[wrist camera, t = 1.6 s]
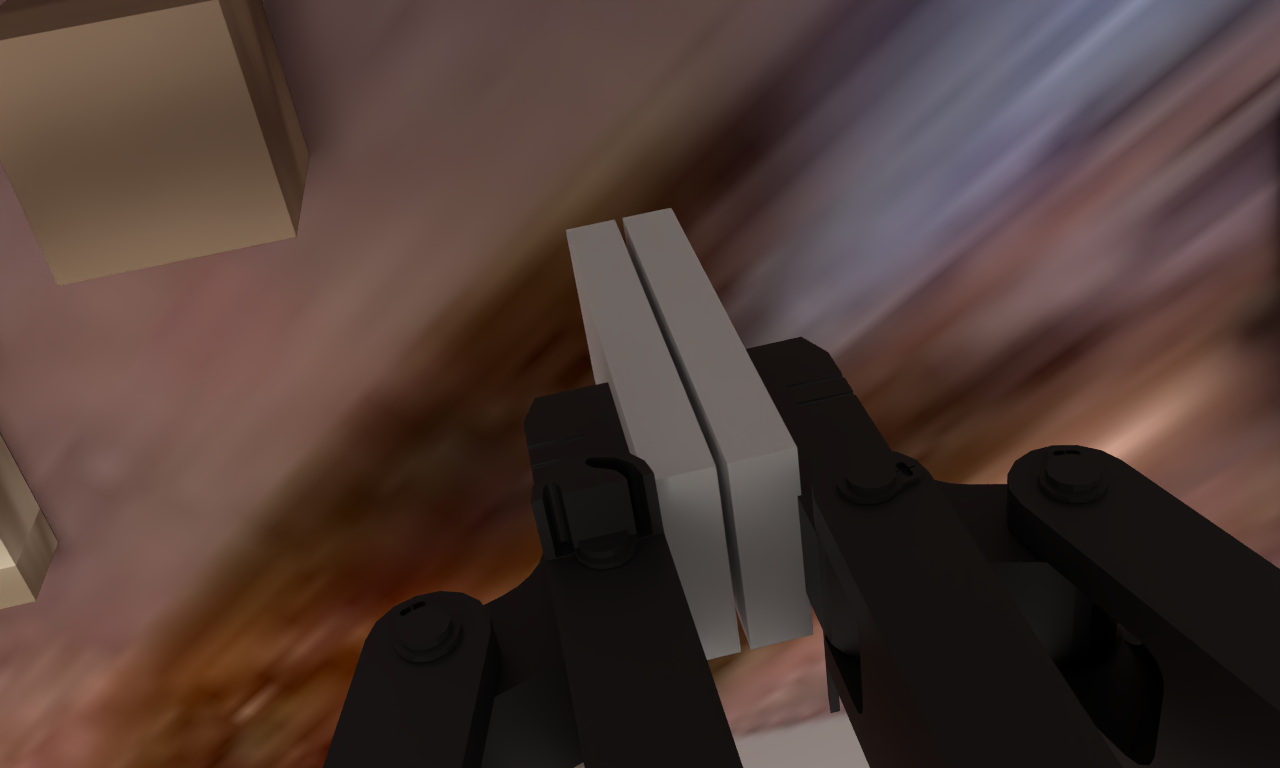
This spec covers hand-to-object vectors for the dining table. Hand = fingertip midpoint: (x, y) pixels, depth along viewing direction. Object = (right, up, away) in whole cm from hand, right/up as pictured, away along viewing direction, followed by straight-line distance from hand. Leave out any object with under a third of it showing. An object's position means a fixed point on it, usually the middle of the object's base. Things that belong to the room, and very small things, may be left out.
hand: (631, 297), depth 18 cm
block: (-13, +7, +15) cm, 21 cm away
